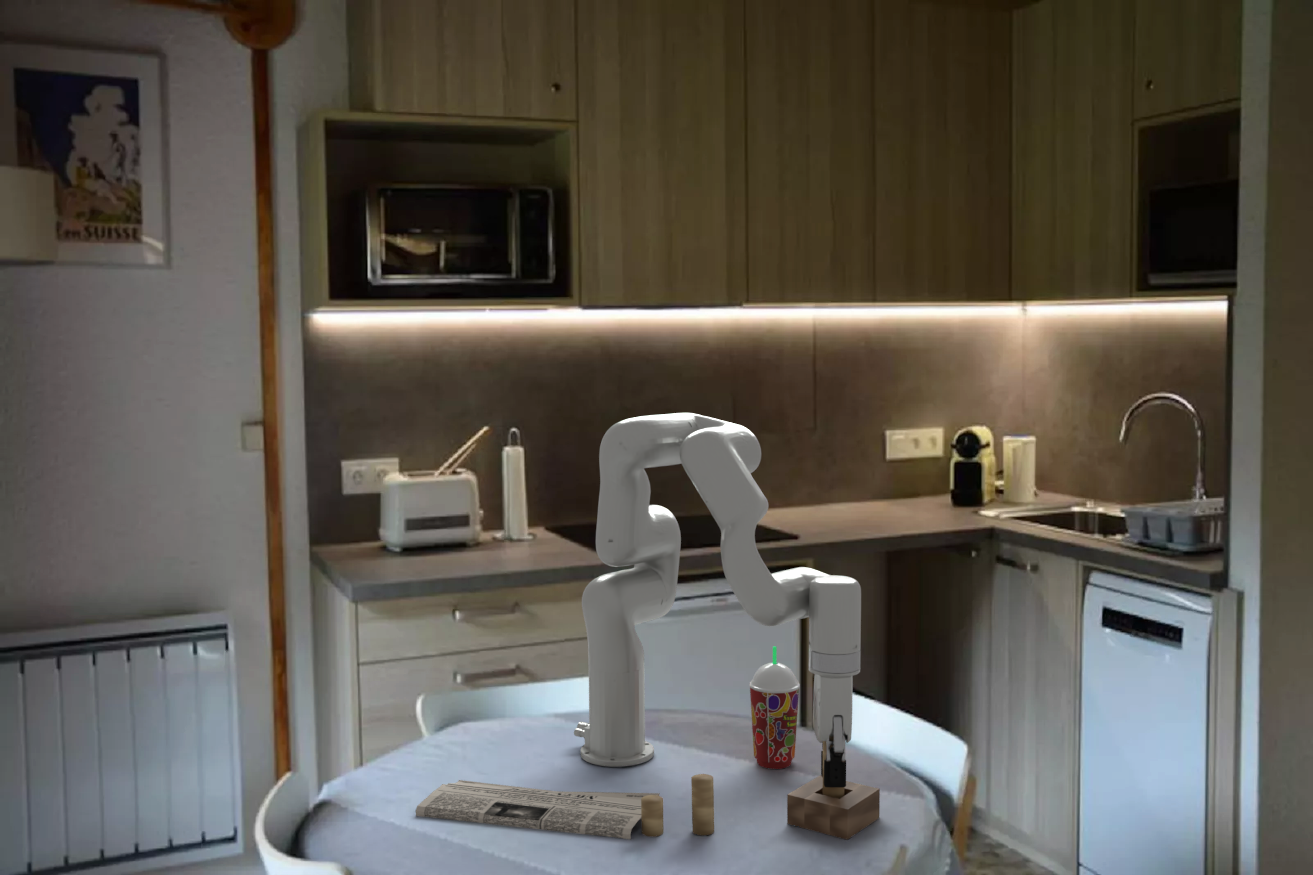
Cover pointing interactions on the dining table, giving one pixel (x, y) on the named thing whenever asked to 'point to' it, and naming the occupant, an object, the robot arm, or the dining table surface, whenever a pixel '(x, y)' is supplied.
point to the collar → (833, 808)
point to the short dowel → (652, 815)
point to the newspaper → (536, 808)
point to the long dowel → (827, 791)
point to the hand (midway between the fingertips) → (833, 780)
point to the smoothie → (774, 714)
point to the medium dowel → (702, 804)
